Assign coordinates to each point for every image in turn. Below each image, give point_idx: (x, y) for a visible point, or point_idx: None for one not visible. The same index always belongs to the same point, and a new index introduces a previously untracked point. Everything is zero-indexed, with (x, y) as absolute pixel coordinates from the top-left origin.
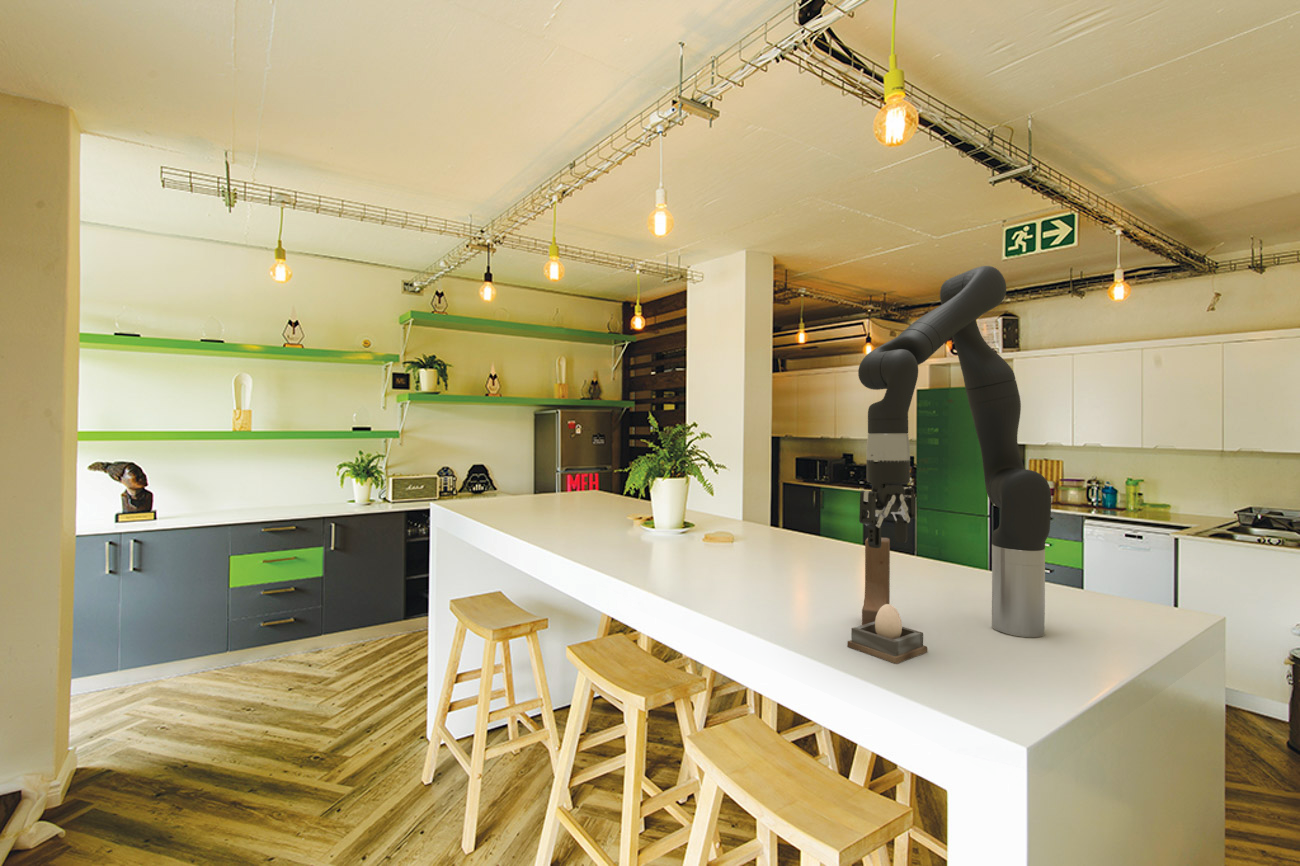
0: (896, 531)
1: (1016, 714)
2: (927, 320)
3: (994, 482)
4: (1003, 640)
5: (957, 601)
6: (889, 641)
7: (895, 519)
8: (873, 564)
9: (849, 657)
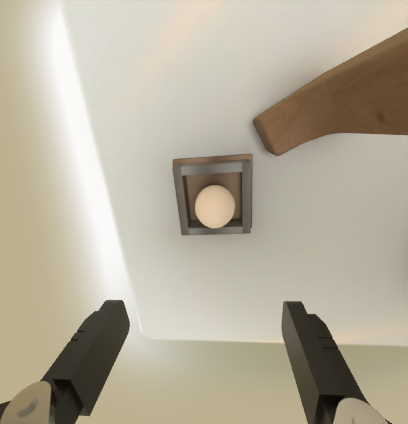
0: (297, 343)
1: (182, 323)
2: None
3: None
4: (379, 251)
5: None
6: (181, 227)
7: (335, 418)
8: (365, 93)
9: (148, 186)
